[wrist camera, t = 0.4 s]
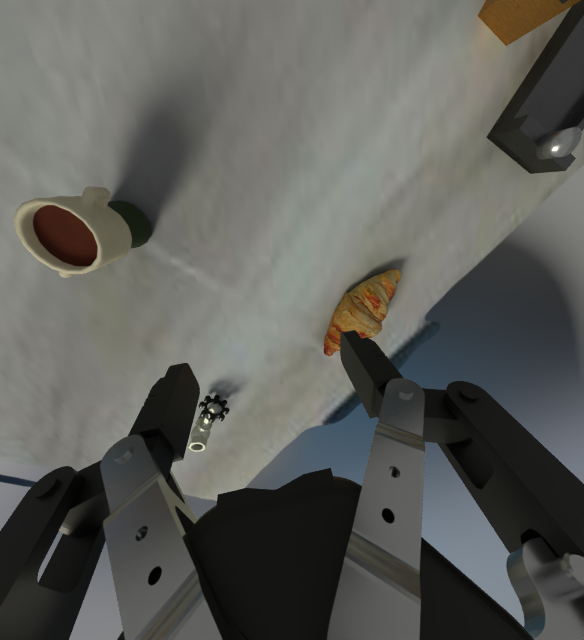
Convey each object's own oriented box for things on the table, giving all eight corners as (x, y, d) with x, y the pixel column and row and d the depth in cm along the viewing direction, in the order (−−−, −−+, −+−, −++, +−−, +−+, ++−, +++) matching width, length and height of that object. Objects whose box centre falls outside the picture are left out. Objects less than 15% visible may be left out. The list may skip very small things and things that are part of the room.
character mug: (114, 171, 29) (24, 156, 18) (168, 207, 32) (119, 213, 21) (90, 241, 33) (3, 264, 22) (141, 267, 36) (86, 300, 25)
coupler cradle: (572, 5, 27) (665, -52, 21) (615, 62, 30) (707, 28, 24) (482, 144, 33) (533, 132, 27) (525, 179, 36) (580, 176, 30)
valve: (213, 429, 57) (231, 398, 53) (208, 454, 51) (227, 423, 47) (187, 423, 55) (203, 391, 50) (179, 450, 49) (196, 416, 45)
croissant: (374, 254, 43) (378, 251, 36) (417, 285, 42) (431, 288, 35) (311, 335, 50) (303, 346, 43) (347, 363, 49) (345, 379, 42)
